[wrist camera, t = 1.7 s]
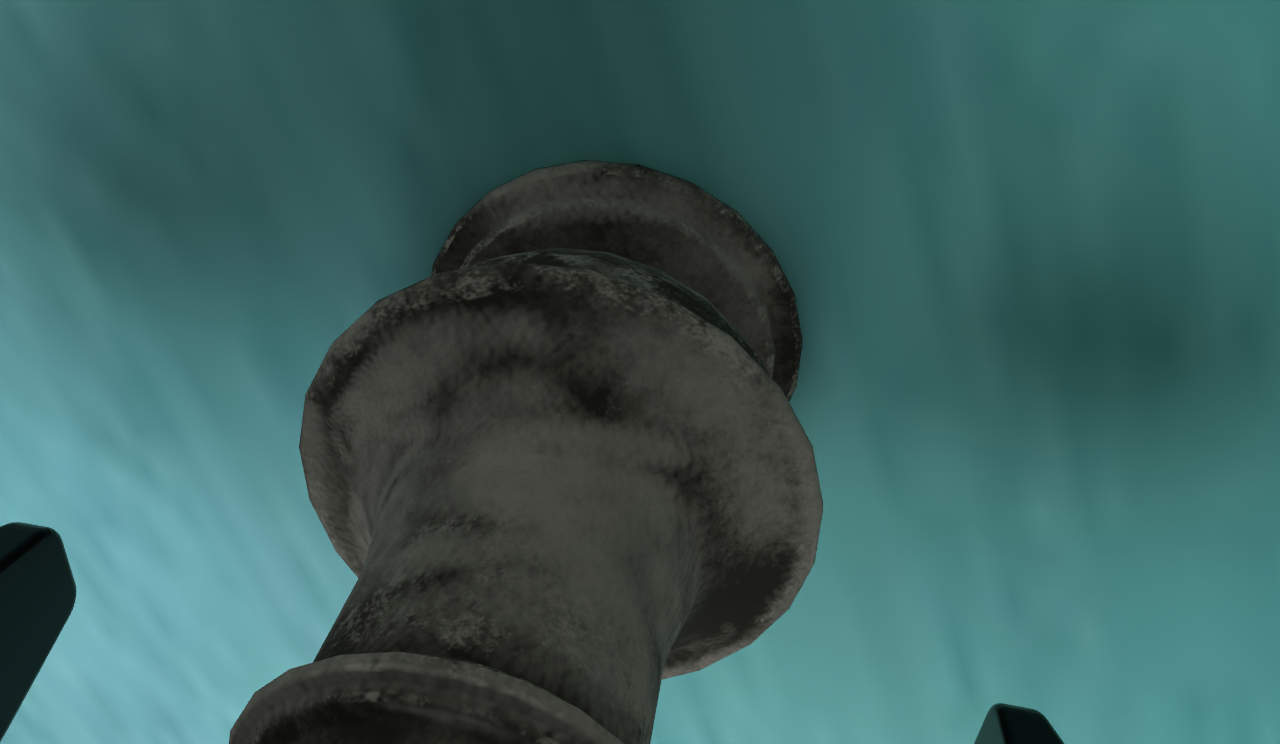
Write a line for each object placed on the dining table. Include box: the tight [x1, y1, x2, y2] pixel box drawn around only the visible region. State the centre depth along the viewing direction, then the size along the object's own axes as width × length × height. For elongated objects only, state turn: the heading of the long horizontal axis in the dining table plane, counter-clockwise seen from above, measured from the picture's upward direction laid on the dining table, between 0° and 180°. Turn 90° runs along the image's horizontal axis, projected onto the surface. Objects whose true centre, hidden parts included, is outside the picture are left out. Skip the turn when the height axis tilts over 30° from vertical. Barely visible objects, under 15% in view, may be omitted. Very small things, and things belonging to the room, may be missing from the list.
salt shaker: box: [229, 161, 823, 744], centre depth 9 cm, size 6×6×12 cm
